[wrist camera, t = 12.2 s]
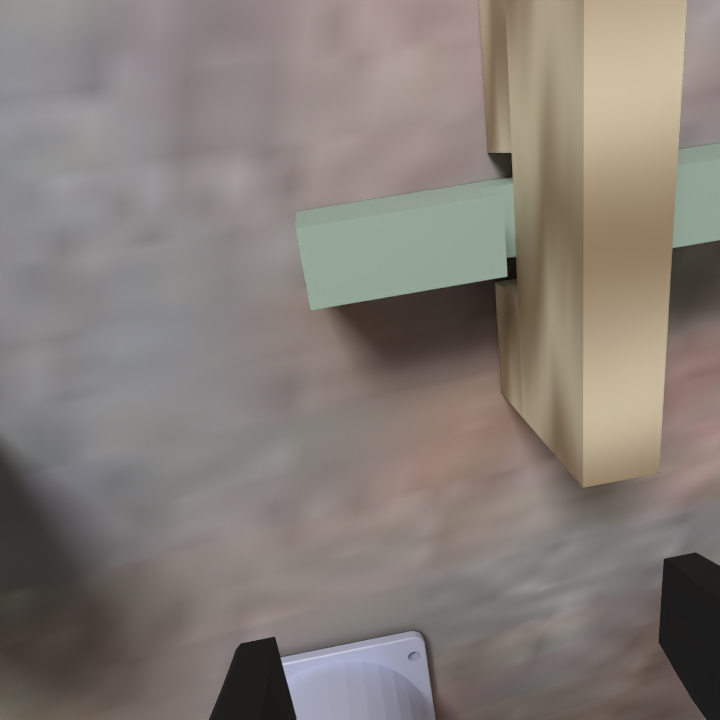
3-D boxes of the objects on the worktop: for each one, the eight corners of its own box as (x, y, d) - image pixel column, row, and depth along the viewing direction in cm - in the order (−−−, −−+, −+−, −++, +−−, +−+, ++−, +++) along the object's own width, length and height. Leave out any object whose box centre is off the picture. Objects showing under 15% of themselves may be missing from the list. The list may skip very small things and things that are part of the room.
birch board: (555, 382, 20) (659, 473, 14) (501, 392, 20) (582, 487, 14) (549, -11, 15) (693, -105, 10) (478, -1, 15) (584, -89, 10)
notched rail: (731, 205, 18) (844, 218, 14) (307, 277, 17) (310, 310, 14) (738, 140, 17) (858, 136, 14) (295, 212, 17) (295, 228, 13)
